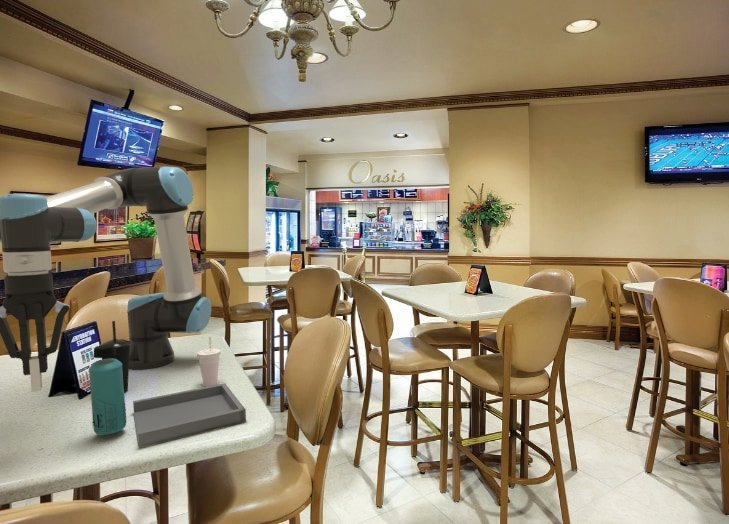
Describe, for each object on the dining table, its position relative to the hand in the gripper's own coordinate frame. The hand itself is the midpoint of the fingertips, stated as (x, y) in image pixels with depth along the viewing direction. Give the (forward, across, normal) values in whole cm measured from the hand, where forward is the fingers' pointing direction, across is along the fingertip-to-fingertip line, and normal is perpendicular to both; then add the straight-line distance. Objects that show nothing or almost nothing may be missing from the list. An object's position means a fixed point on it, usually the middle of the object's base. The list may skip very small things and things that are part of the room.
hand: (37, 389), depth 86 cm
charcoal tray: (+13, +28, 0) cm, 31 cm away
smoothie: (+13, +37, +20) cm, 44 cm away
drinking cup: (+13, +14, +28) cm, 34 cm away
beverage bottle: (+13, +12, 0) cm, 18 cm away
